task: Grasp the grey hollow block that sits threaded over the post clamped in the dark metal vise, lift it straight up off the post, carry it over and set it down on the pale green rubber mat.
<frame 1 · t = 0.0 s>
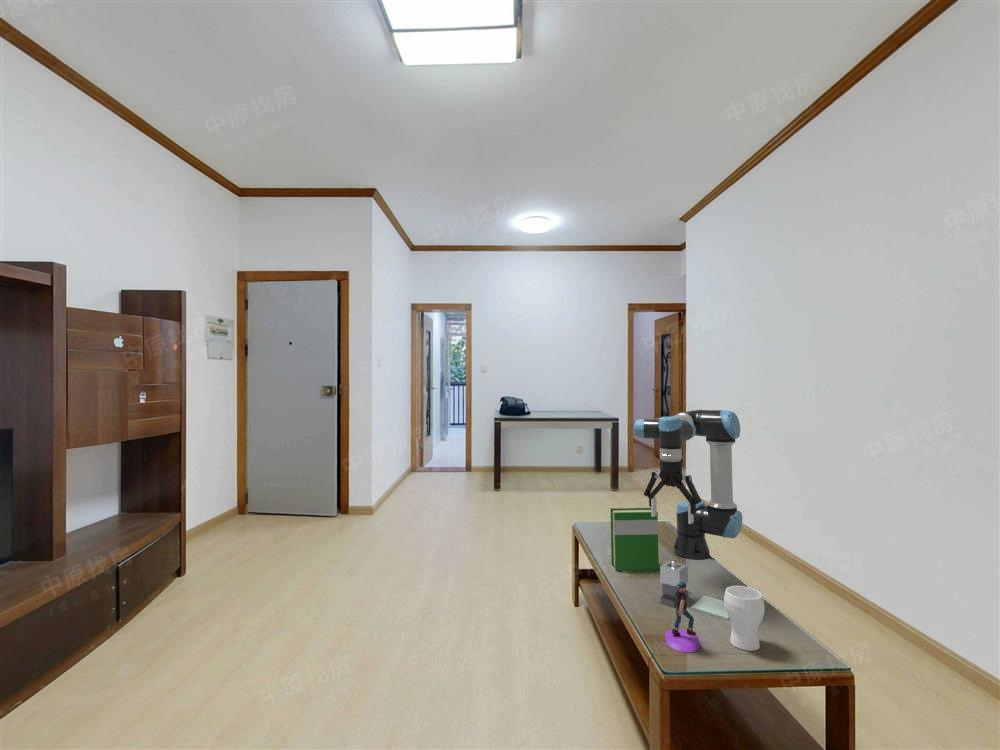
hand: (672, 519, 173), 28 cm above the table, fingers open, 13 cm apart
grey hollow block: (674, 582, 171), point 6 cm above the table, touching vise
cup: (744, 644, 141), on the table
vise: (674, 599, 171), on the table
hardback book: (634, 568, 201), on the table
figurine: (682, 644, 142), on the table
mat: (715, 608, 164), on the table
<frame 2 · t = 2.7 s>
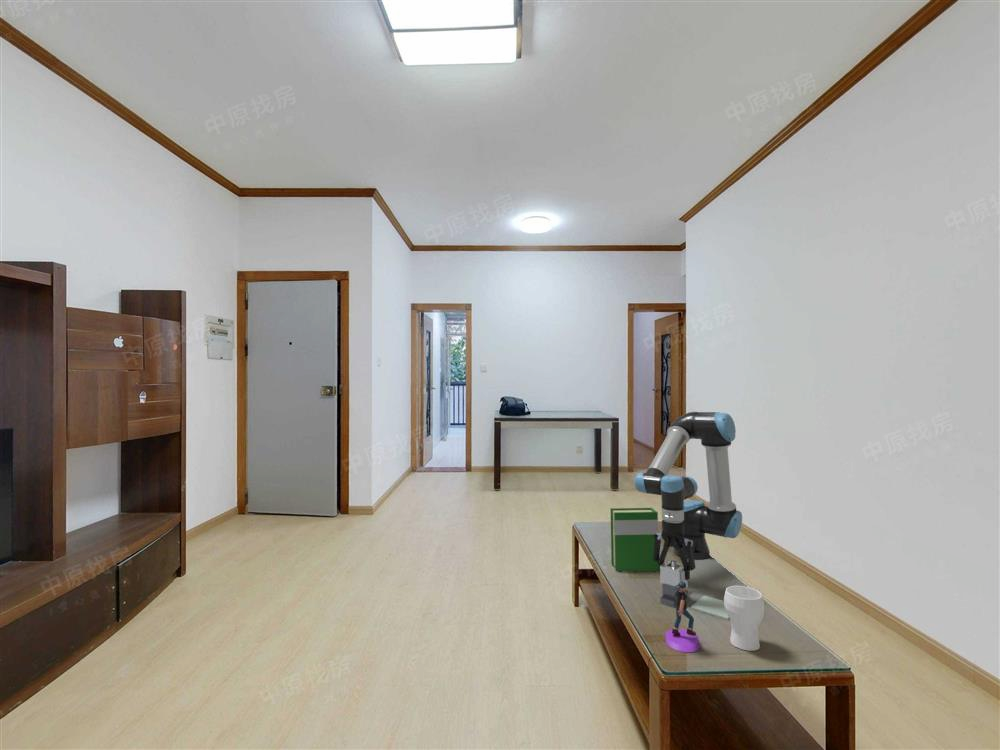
hand: (674, 585, 171), 5 cm above the table, fingers closed on grey hollow block, 7 cm apart
grey hollow block: (674, 582, 171), point 6 cm above the table, touching gripper, vise
everything else where it was.
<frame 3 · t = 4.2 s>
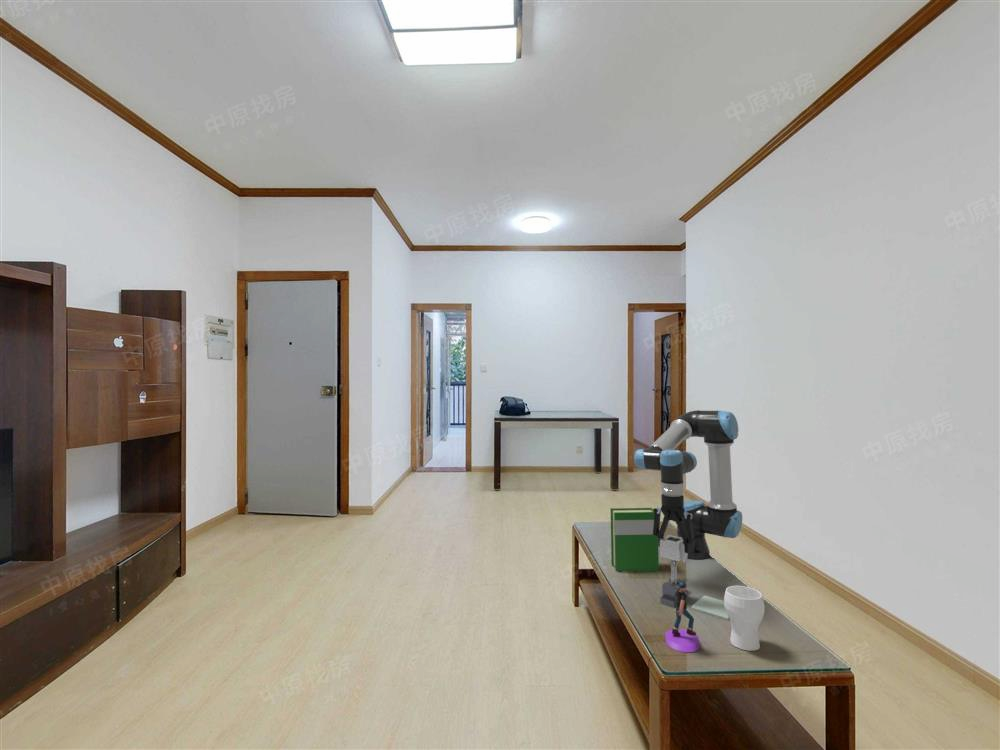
hand: (674, 558, 171), 14 cm above the table, fingers closed on grey hollow block, 7 cm apart
grey hollow block: (673, 556, 171), point 15 cm above the table, touching gripper
everything else where it was.
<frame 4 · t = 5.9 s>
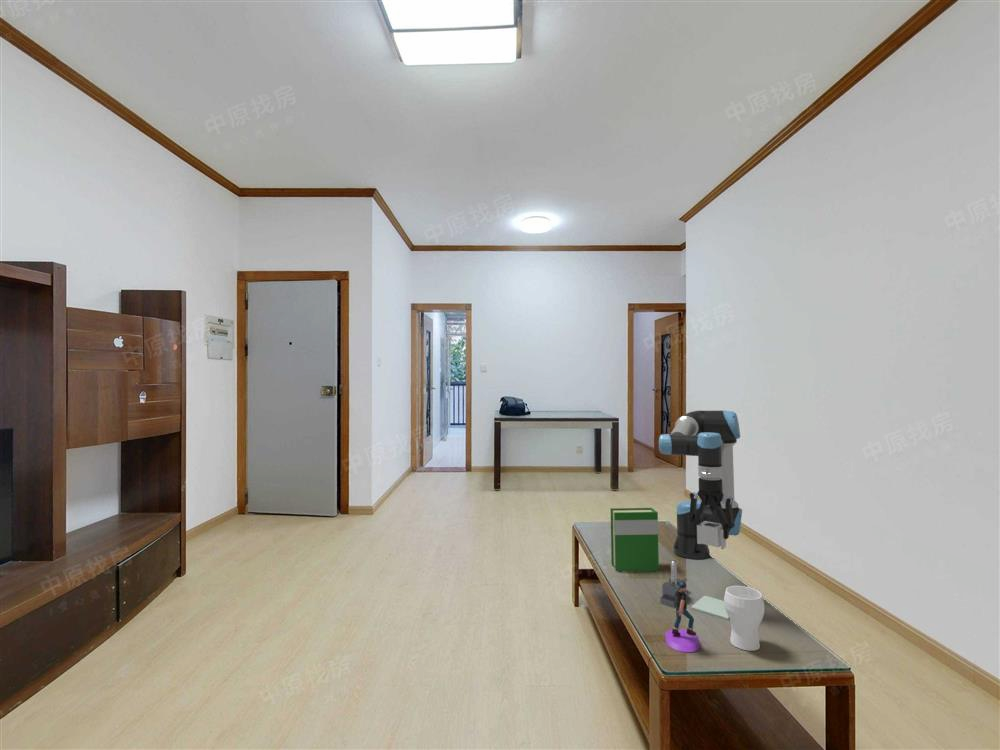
hand: (711, 545, 165), 21 cm above the table, fingers closed on grey hollow block, 7 cm apart
grey hollow block: (711, 542, 165), point 22 cm above the table, touching gripper
everything else where it was.
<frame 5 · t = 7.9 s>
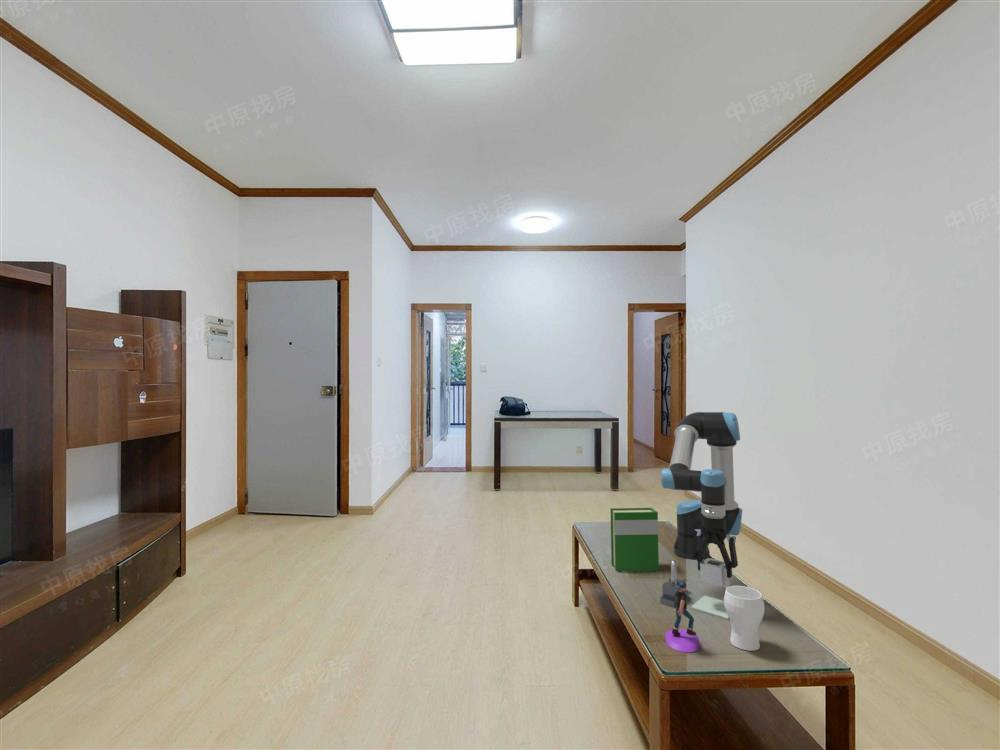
hand: (714, 583, 164), 8 cm above the table, fingers closed on grey hollow block, 7 cm apart
grey hollow block: (714, 580, 164), point 9 cm above the table, touching gripper
everything else where it was.
when the fingers open (3 cm above the table, at t = 9.3 s): grey hollow block drops 3 cm, resting on mat.
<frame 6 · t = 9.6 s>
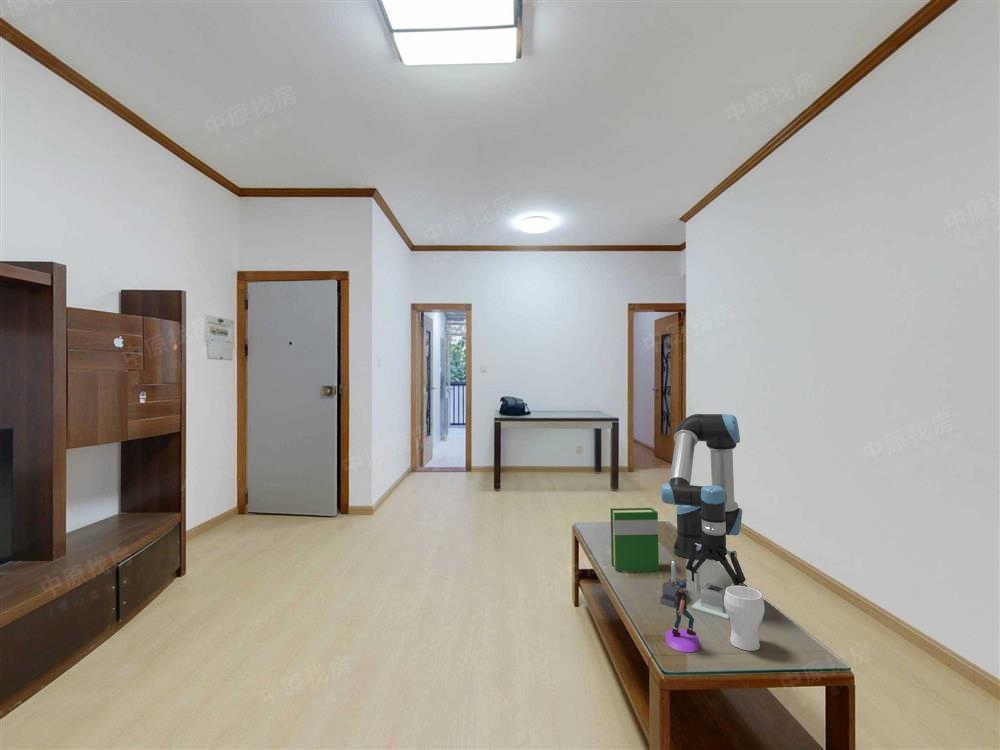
hand: (715, 596, 164), 4 cm above the table, fingers open, 11 cm apart
grey hollow block: (715, 606, 164), point 1 cm above the table, touching mat
everything else where it was.
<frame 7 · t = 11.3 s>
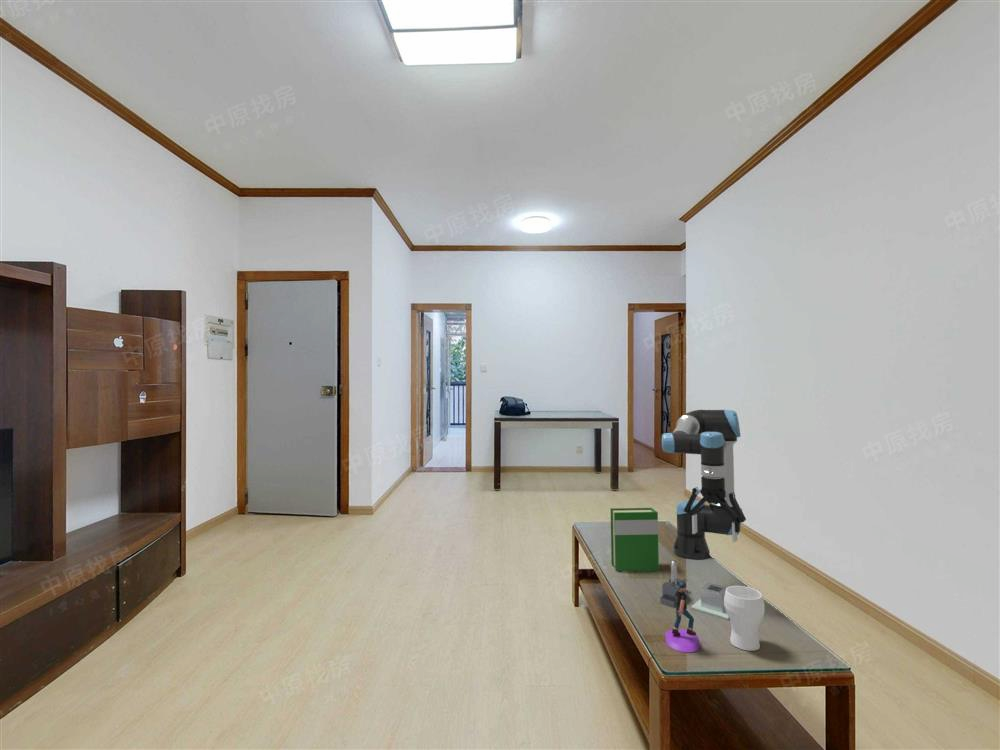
hand: (714, 537, 169), 23 cm above the table, fingers open, 13 cm apart
nothing on the table moved.
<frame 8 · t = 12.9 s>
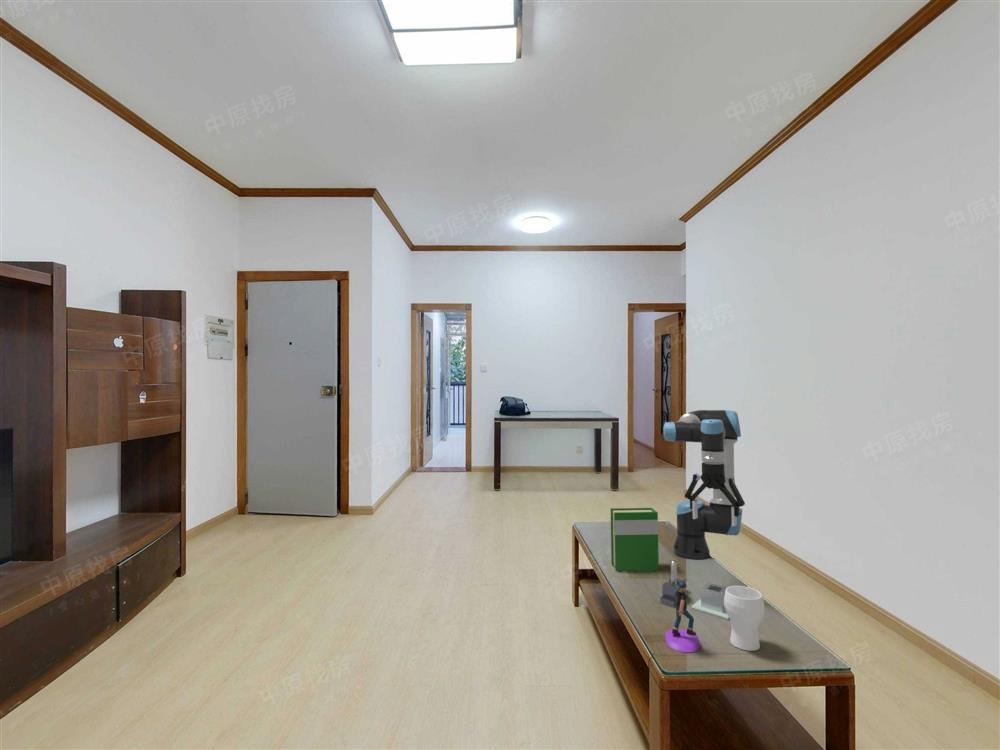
hand: (714, 521, 173), 27 cm above the table, fingers open, 13 cm apart
nothing on the table moved.
at the end: grey hollow block inside the target area on the mat (0.0 cm from its centre), point 0.6 cm above the mat's base; grey hollow block tilted 0°; grey hollow block touching mat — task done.
